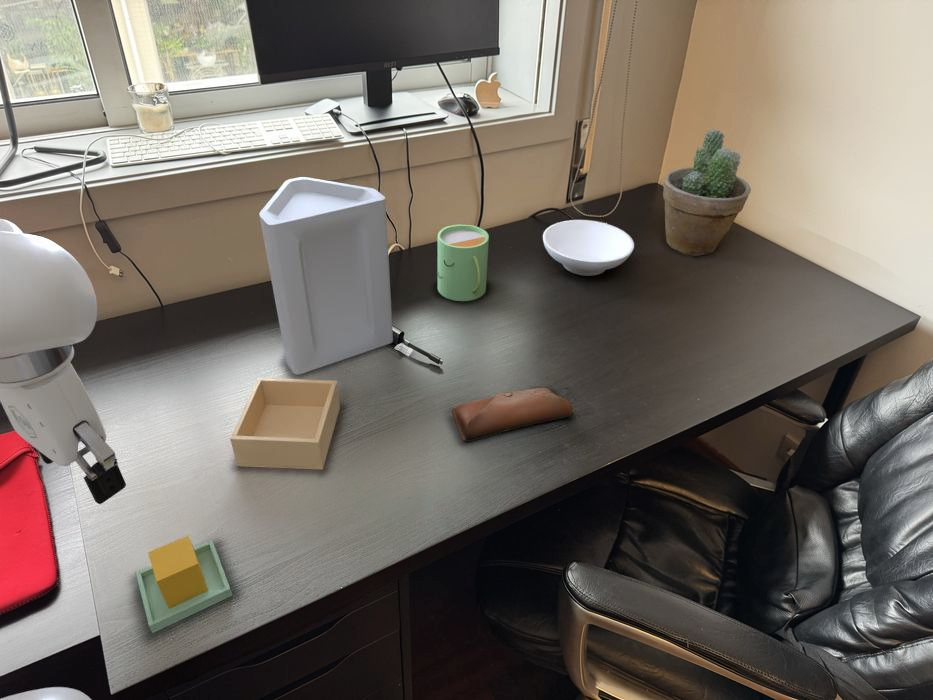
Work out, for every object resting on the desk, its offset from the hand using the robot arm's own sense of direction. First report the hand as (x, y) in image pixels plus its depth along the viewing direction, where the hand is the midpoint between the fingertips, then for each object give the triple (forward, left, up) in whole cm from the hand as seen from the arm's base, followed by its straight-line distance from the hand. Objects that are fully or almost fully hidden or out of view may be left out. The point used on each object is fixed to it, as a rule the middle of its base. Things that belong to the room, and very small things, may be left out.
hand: (85, 474), depth 70 cm
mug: (+77, +1, -16) cm, 79 cm away
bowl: (+101, -15, -16) cm, 104 cm away
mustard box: (+2, -9, -15) cm, 18 cm away
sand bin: (+27, 0, -16) cm, 31 cm away
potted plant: (+126, -31, -16) cm, 131 cm away
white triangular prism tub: (+49, +12, -16) cm, 53 cm away
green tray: (+2, -9, -16) cm, 18 cm away
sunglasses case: (+50, -26, -16) cm, 59 cm away
